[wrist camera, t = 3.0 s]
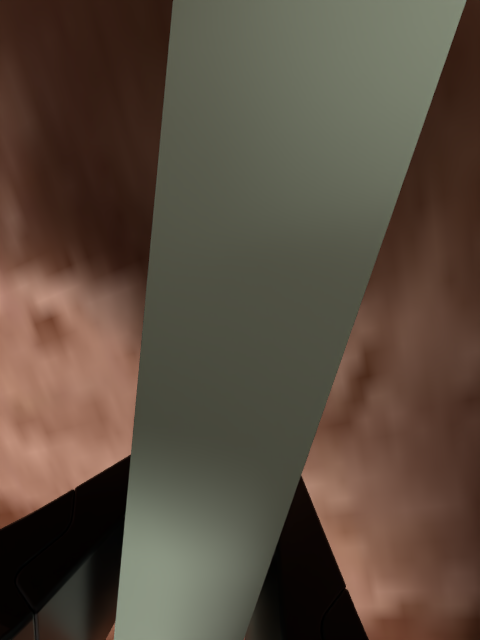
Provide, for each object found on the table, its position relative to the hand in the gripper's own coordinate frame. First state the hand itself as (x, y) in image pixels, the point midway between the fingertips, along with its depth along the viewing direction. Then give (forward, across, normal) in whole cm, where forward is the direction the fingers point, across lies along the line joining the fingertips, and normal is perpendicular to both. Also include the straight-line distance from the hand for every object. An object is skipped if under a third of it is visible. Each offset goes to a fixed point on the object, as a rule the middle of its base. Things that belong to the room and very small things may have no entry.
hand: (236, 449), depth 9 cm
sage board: (+1, 0, -4) cm, 4 cm away
